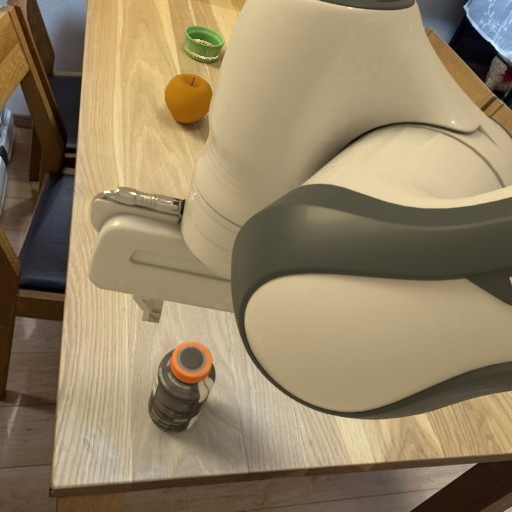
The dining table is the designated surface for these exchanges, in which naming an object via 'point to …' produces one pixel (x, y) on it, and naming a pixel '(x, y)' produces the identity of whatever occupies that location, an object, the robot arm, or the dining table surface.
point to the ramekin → (203, 48)
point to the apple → (188, 97)
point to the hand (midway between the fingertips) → (204, 325)
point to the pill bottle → (181, 387)
